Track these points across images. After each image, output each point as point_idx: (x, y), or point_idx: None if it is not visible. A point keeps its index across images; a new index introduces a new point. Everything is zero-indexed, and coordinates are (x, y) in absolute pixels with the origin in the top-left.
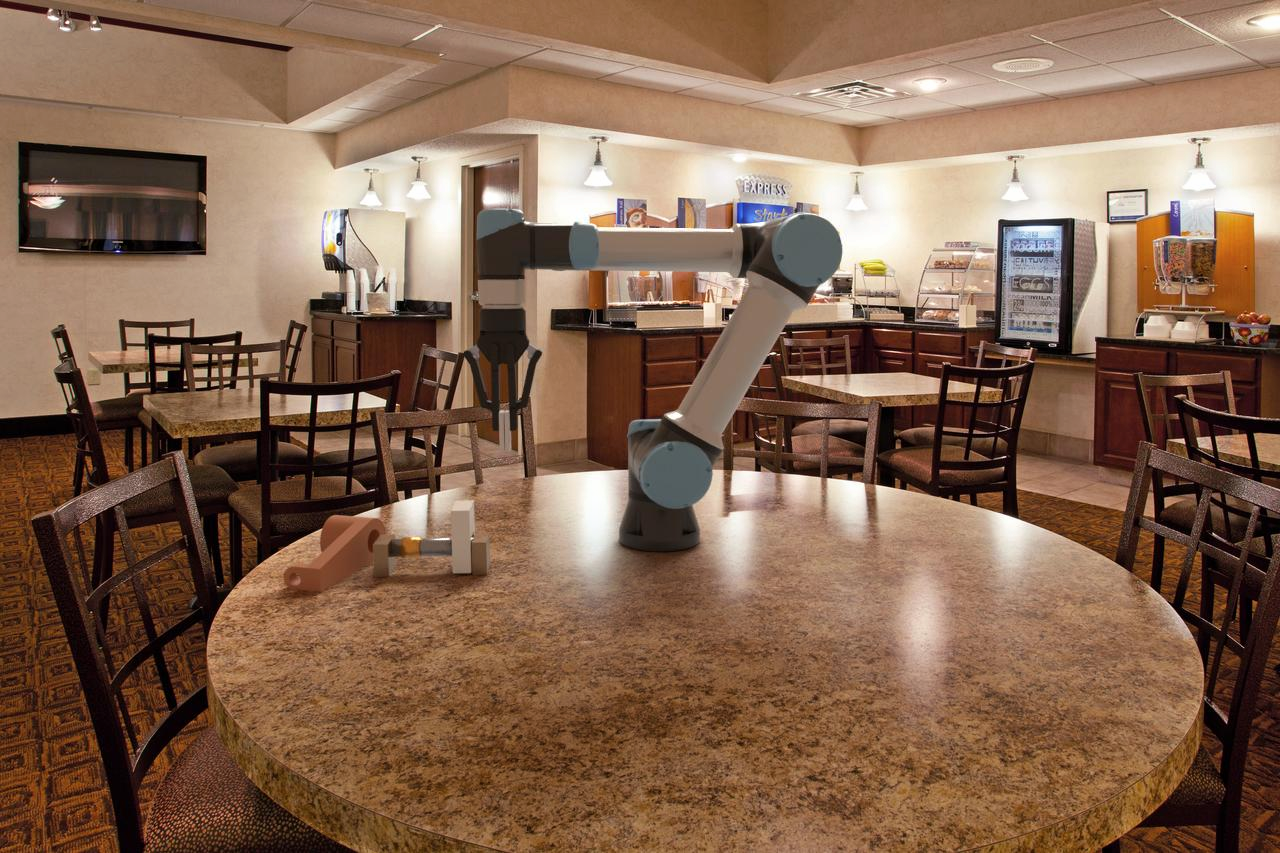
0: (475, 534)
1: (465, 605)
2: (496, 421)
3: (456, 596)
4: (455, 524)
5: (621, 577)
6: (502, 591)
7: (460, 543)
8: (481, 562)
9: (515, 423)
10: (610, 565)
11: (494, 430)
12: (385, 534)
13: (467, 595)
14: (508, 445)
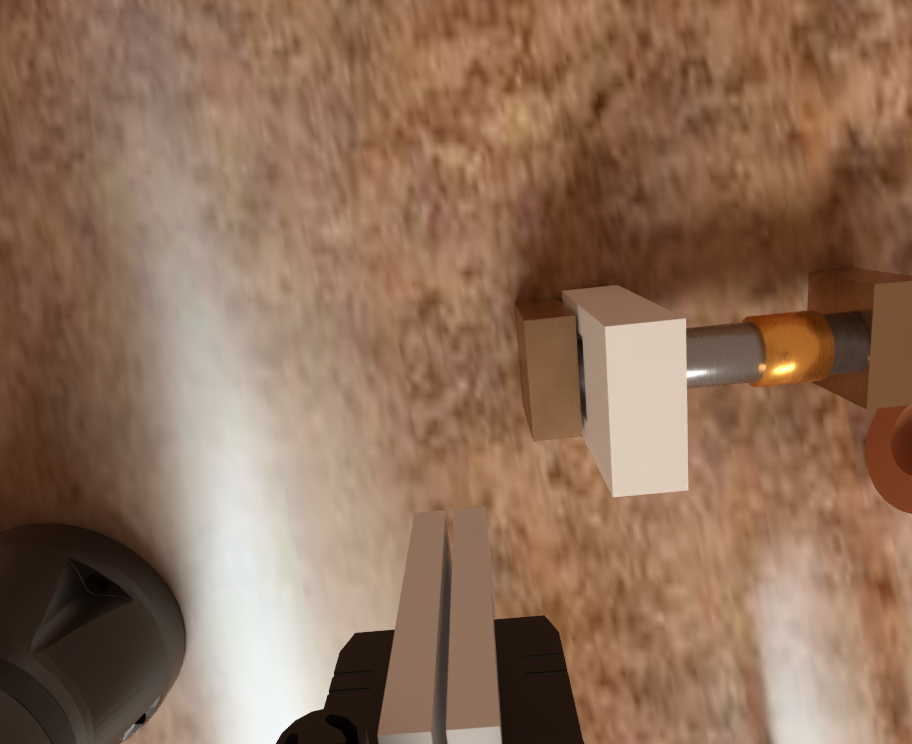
0: (578, 417)
1: (528, 9)
2: (525, 679)
3: (571, 95)
4: (648, 311)
5: (112, 293)
6: (440, 148)
7: (612, 300)
8: (534, 307)
9: (345, 679)
10: (166, 402)
11: (537, 618)
12: (894, 504)
13: (539, 106)
14: (421, 532)
